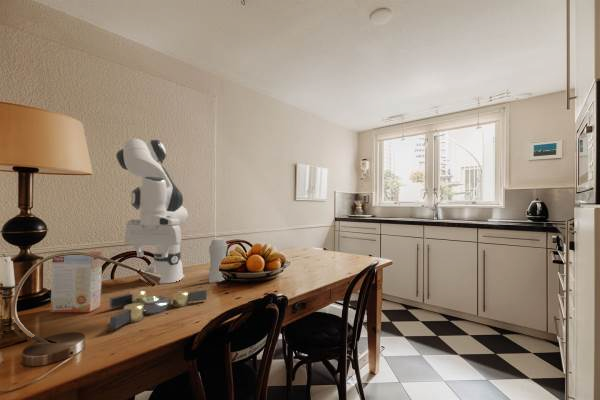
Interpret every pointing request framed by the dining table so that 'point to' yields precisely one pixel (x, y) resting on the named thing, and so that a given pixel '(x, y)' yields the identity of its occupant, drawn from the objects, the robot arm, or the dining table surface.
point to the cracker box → (76, 283)
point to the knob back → (127, 298)
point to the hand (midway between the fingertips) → (152, 257)
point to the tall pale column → (216, 259)
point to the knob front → (127, 315)
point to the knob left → (187, 297)
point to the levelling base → (154, 304)
